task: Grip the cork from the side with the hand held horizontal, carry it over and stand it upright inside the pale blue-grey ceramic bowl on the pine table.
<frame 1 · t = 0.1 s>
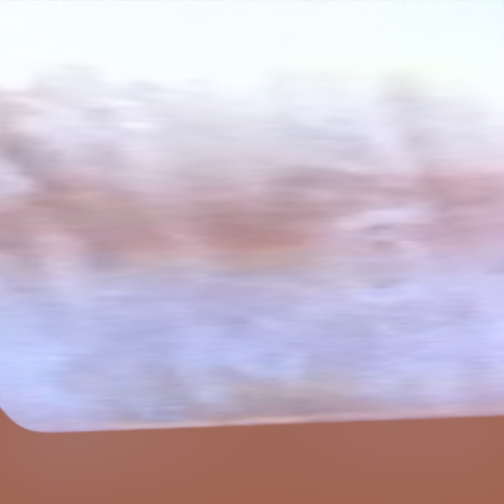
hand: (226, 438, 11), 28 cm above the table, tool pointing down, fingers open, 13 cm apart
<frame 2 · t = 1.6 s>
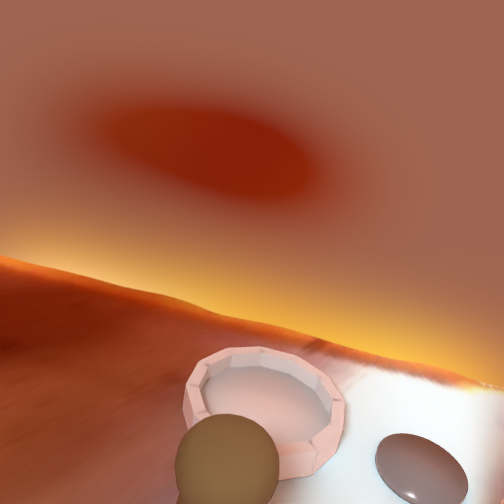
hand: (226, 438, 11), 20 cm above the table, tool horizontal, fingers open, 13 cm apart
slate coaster: (419, 472, 38), on the table
bowl: (261, 416, 41), on the table
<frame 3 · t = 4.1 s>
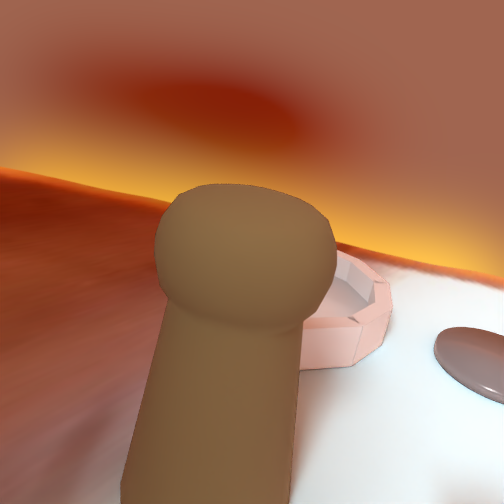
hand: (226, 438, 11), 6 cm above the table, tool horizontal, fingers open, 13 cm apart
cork: (205, 490, 17), on the table
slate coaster: (495, 368, 28), on the table
bowl: (278, 305, 31), on the table
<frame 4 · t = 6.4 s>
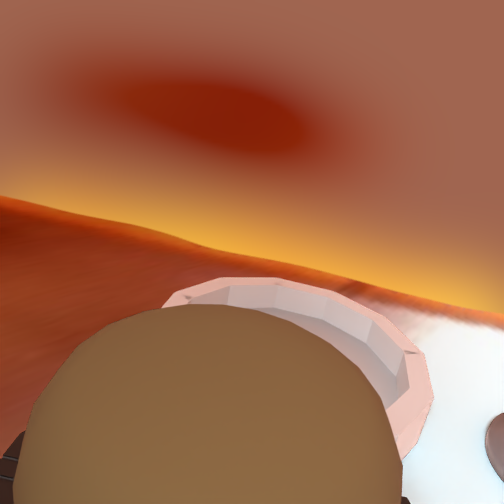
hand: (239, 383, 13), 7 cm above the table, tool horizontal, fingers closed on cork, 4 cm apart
bowl: (280, 381, 24), on the table
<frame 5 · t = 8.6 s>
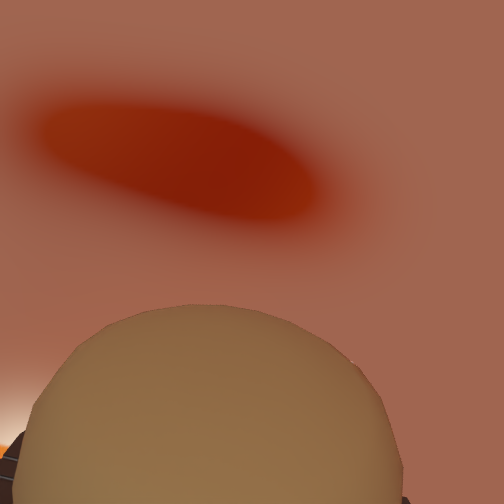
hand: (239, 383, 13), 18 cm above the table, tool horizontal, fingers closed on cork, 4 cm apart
when the fingers open (9 cm above the table, at t = 11.0 s): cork drops 1 cm, resting on bowl.
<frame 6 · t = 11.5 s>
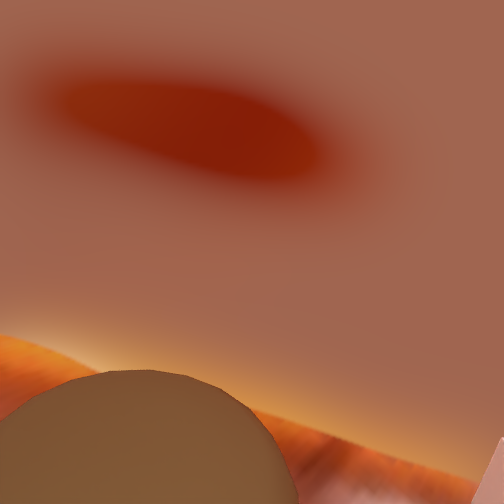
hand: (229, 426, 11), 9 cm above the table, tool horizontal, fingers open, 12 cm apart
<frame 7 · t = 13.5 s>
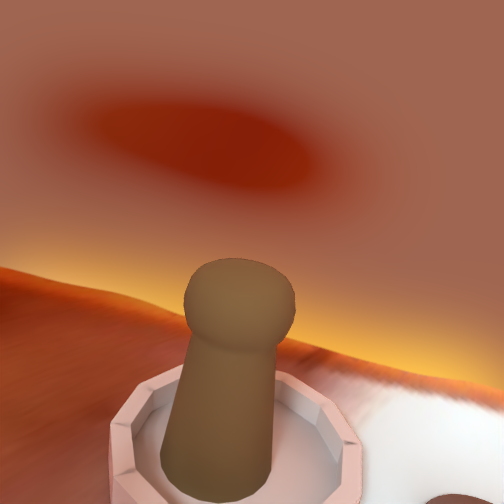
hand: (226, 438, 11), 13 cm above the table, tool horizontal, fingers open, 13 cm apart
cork: (216, 457, 26), point 1 cm above the table, touching bowl
bowl: (233, 469, 26), on the table
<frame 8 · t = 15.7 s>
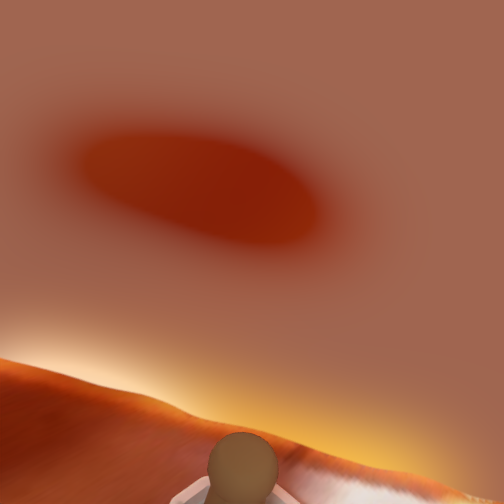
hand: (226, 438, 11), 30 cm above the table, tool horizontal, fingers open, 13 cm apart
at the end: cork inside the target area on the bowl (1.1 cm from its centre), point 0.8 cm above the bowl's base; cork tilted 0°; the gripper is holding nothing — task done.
